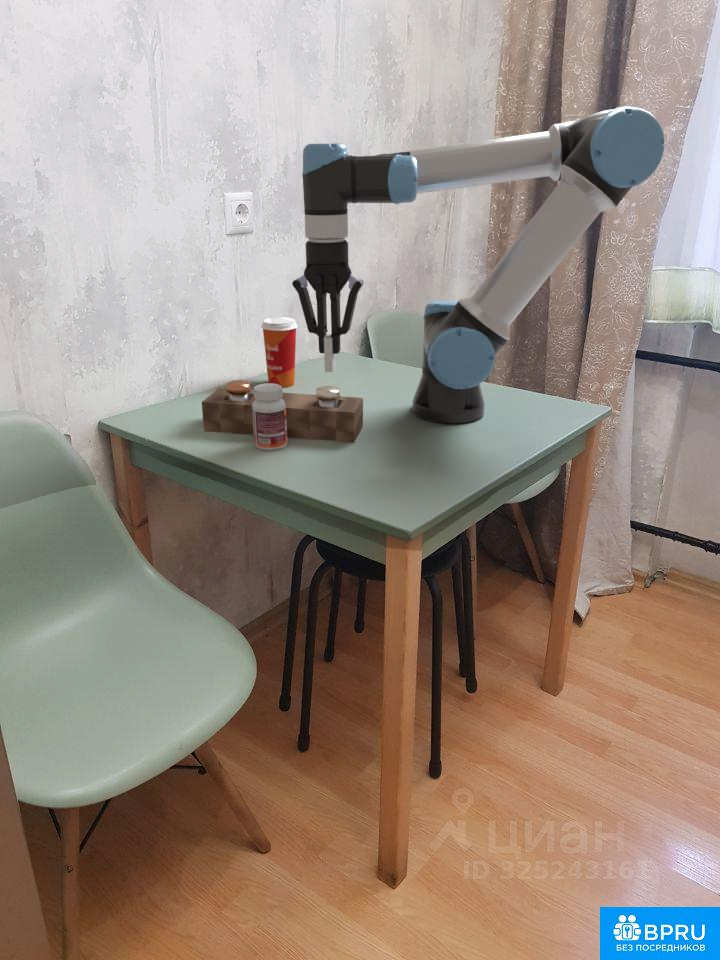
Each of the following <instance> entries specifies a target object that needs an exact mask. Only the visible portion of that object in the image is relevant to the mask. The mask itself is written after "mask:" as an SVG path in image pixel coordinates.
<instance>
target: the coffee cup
mask: <svg viewBox="0 0 720 960" xmlns="http://www.w3.org/2000/svg"><path fill="white" fill-rule="evenodd" d="M296 322H297V321H296V319H294V318H292V317H286V316H285V317H284V316H280V317H271V318H270V317H267V318H265V319H263V321H262V324H261V326H260V327H261V329H262V333H263V341H264V342H263V343H264V351H265V352H264V353H265V363H266V370H267V380H268V383H272V384H278V385H281V386H282V389H283V388H284V389H285V388H289V387H290V388H291V387H292V386H294V385H295V378H296V377H295V375H296V373H295V372H296V346H297V345H296V342H297V339H296V338H297V337H296V336H297V328H298V324H297V323H296Z"/></svg>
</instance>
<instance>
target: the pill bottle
mask: <svg viewBox="0 0 720 960" xmlns="http://www.w3.org/2000/svg"><path fill="white" fill-rule="evenodd" d="M253 391H254V398H255V399H256V400H255V401H254V402H253V404H252V413H253V429H254V435H253V442H254V447H256V448H257V449H258V450H261V451H278V450H281V449H285V447H286V446H287V445H288V438H287V419H286V403H285V401H284V400H283V399H281V398H282V397H283V393H284V392H283V388H282V386H281V385H278V384H272V383H269V382H268V383H261V384H256V385H255V386H253Z"/></svg>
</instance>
